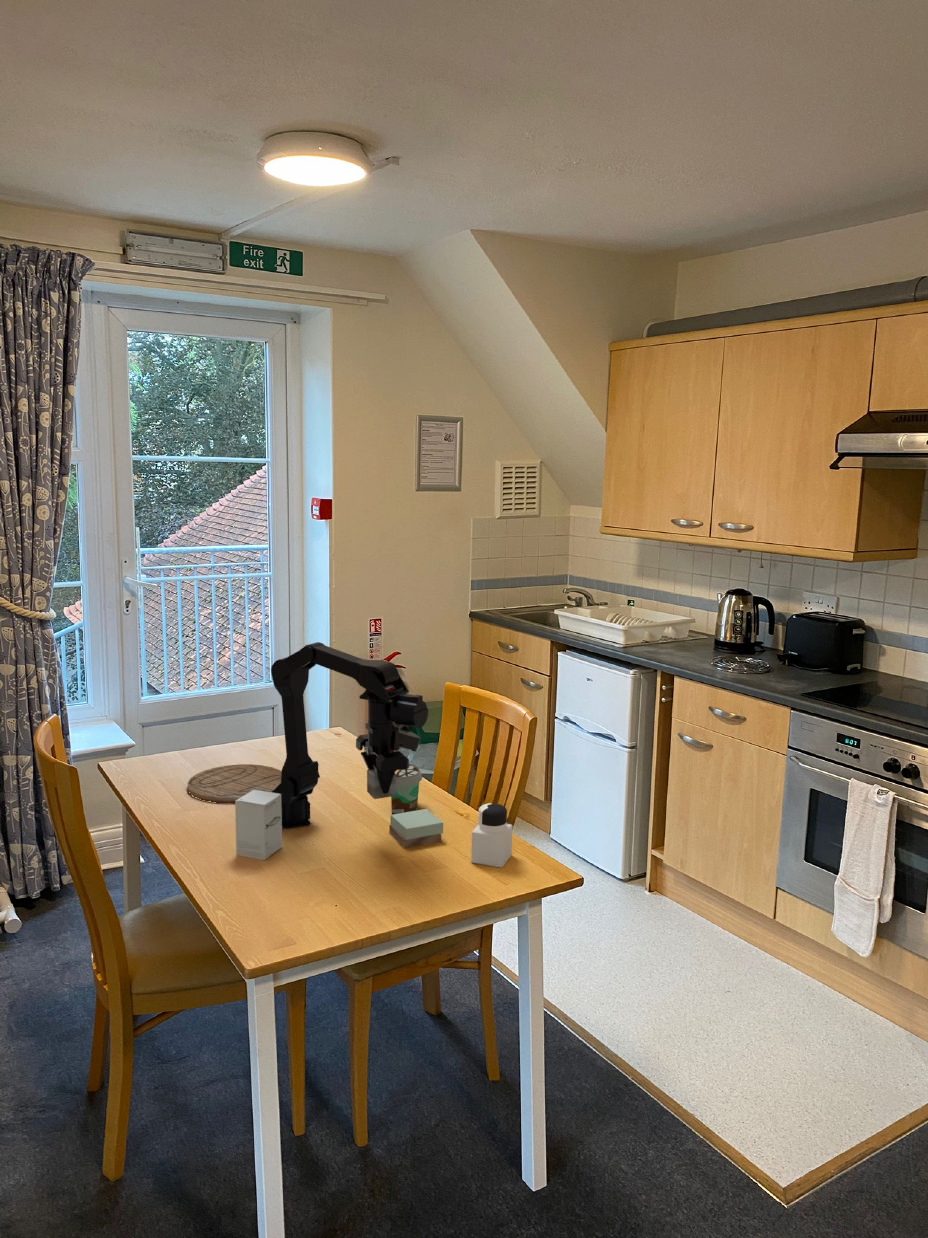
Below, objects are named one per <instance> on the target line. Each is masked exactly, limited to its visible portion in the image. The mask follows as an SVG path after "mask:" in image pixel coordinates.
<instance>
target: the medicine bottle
mask: <svg viewBox="0 0 928 1238" xmlns="http://www.w3.org/2000/svg"><path fill="white" fill-rule="evenodd" d="M507 820H508V809H507V808H506V806H504V805H502V804H500V803H496V802H495V803H494V802H493V803H492V802H489V803H485V804H482V805H481V806H480V807H478V823H477V825H476V827H475V828H474V829H473V830H472V831H471V848H470V849H471V852H470V853H471V854H470V855H471V856H470V857H471V858H470V859H471V863H473V864H478V865H483V866H489V867H495V868H500V869H501V868H503V867H504V866H505V865H506V863H507V862H508V861H509V859H510V857H511V856H512V855H513V854H512V853H513V824H510V823H508V821H507Z"/></svg>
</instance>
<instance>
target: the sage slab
mask: <svg viewBox="0 0 928 1238" xmlns="http://www.w3.org/2000/svg"><path fill="white" fill-rule="evenodd" d="M390 825H391V826H392V827H393V828H394V829H395V830H396V831H397V832H399V833H400V834H401V835H402V836H403V837H404V838H405V839H406V840H408V839H413V838H419V837H424V836H429V835H435V834H440V833H441V834H444V822H443V821H442V820H441V819H439V818H438V816H436V815H435V814H434V813H432V812H431V811H430V810H428V809H427V808H424V809H417V810H416V811H411V812H405V813H399V814H393V815H392V814H390Z"/></svg>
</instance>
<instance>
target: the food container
mask: <svg viewBox="0 0 928 1238" xmlns="http://www.w3.org/2000/svg"><path fill="white" fill-rule="evenodd" d="M395 774H396V796H393V797H390V799H391V801H390V803H391V806H390V807H391V815H393V814H399V813H405V812H411V811H417V810H418V804H419V803H418V802H419V789H420V782H421V781H422V779H423V774H422V770H421V768H420V767H419V765H416V764H413V763H410V762H409V768H408V769H402V770H397V771H396V773H395Z"/></svg>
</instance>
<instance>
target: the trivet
mask: <svg viewBox="0 0 928 1238" xmlns="http://www.w3.org/2000/svg"><path fill="white" fill-rule="evenodd" d="M281 771H282V770H280V769H278V768H275V767H273V766H268V765H267V766H266V765H262V764H253V763H252V764H249V763H247V764H241V763H240V764H229V765H222V766H217V767H212V768H210V769H209V768H208V769H206V770H202V771H201V772H198V773H196V774H194V775H193V776H191V777H190V778H189V780H188V782H187V792H188V791H189V792H190V794H192V795H193V796H194V797H197V798H199V799H201V800H205V801H211V802H216V803H215V804H219V803H235V801H236V800H237V799H239V798H241V797H242V796H244V795H246V794H247V793H249V792H251V791H252V790H258V791H265V792H272V791H273V790H274V789H275V788H276V787H277V786H278V785H279V784H280V783H281ZM190 794H189V795H190ZM201 800H200V801H201ZM205 801H204V802H205Z"/></svg>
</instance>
